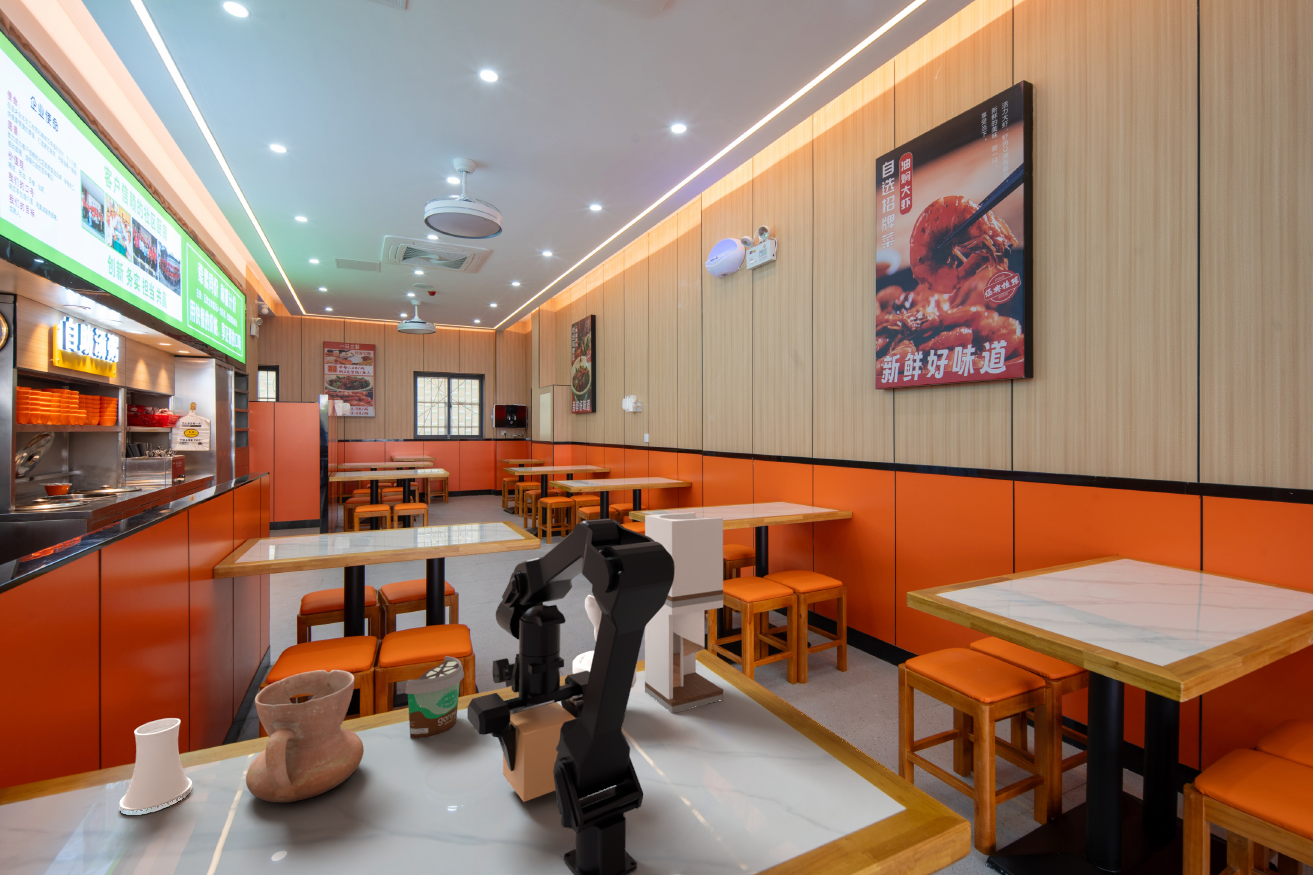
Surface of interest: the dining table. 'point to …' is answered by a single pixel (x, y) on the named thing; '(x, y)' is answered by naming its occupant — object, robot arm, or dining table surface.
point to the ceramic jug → (304, 737)
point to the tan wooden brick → (536, 749)
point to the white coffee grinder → (684, 610)
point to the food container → (434, 699)
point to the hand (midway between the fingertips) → (538, 760)
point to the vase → (156, 767)
